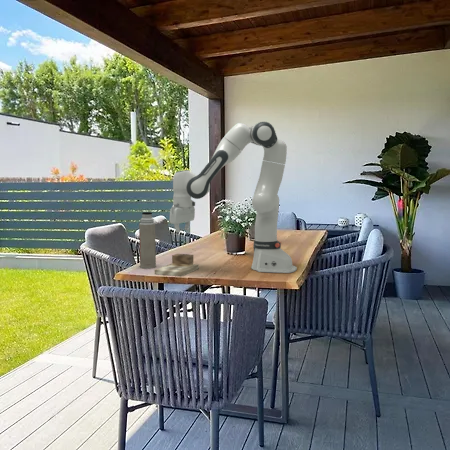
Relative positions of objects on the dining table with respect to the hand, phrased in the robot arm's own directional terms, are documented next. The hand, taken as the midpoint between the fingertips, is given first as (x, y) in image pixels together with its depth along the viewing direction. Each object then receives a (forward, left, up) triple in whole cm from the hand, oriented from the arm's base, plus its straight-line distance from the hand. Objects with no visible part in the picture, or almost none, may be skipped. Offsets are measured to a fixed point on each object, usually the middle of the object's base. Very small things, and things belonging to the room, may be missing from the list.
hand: (182, 231), depth 223 cm
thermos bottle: (+19, +2, -19) cm, 27 cm away
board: (0, +6, -19) cm, 20 cm away
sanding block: (0, 0, -17) cm, 17 cm away
